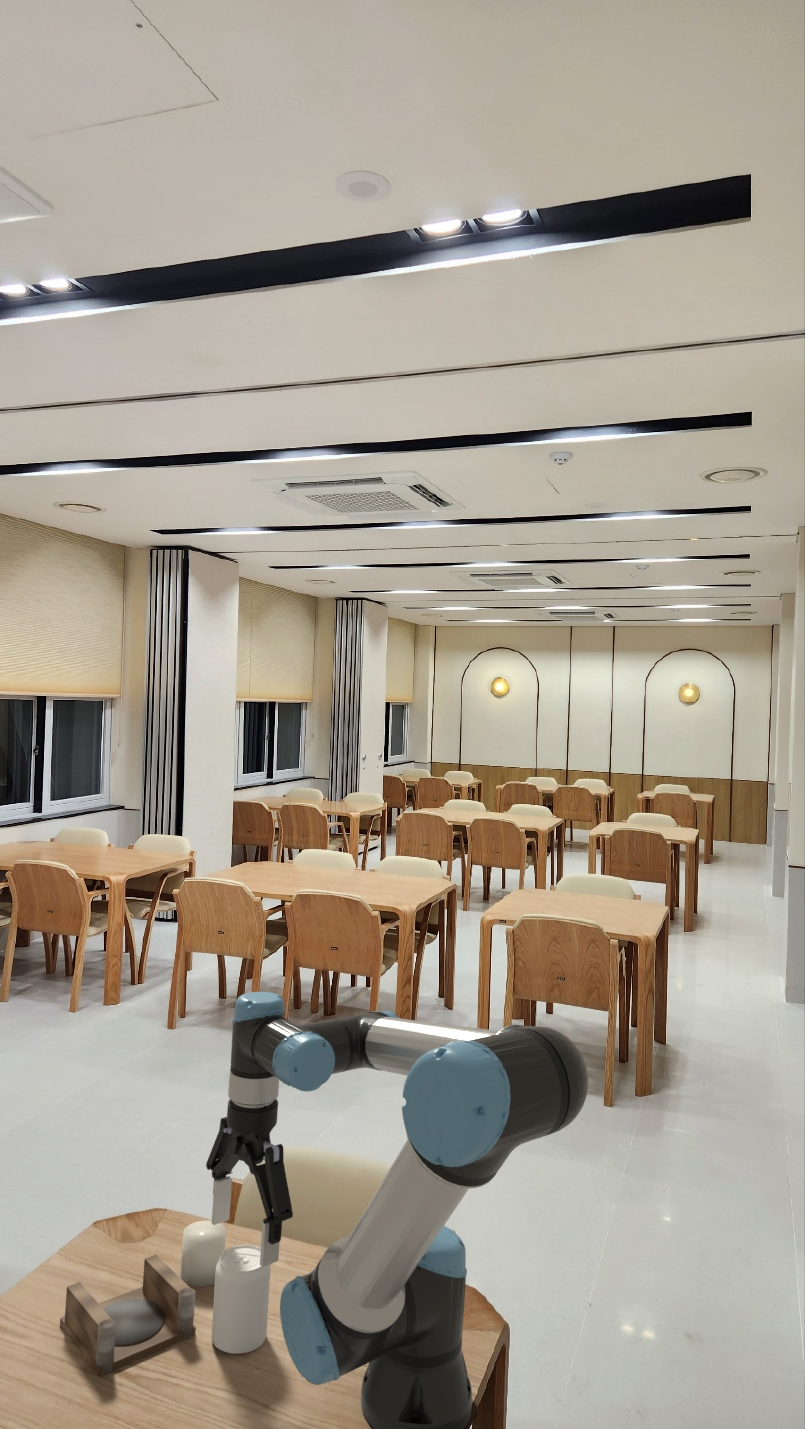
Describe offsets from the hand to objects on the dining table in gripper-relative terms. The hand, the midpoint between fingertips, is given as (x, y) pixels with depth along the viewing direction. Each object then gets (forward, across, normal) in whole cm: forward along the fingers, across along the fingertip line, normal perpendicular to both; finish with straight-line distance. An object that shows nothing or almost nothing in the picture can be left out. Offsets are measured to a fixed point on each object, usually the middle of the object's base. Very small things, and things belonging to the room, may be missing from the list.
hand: (243, 1241), depth 135 cm
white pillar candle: (+14, +18, -4) cm, 23 cm away
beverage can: (+14, 0, 0) cm, 14 cm away
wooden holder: (+14, +12, +12) cm, 22 cm away
